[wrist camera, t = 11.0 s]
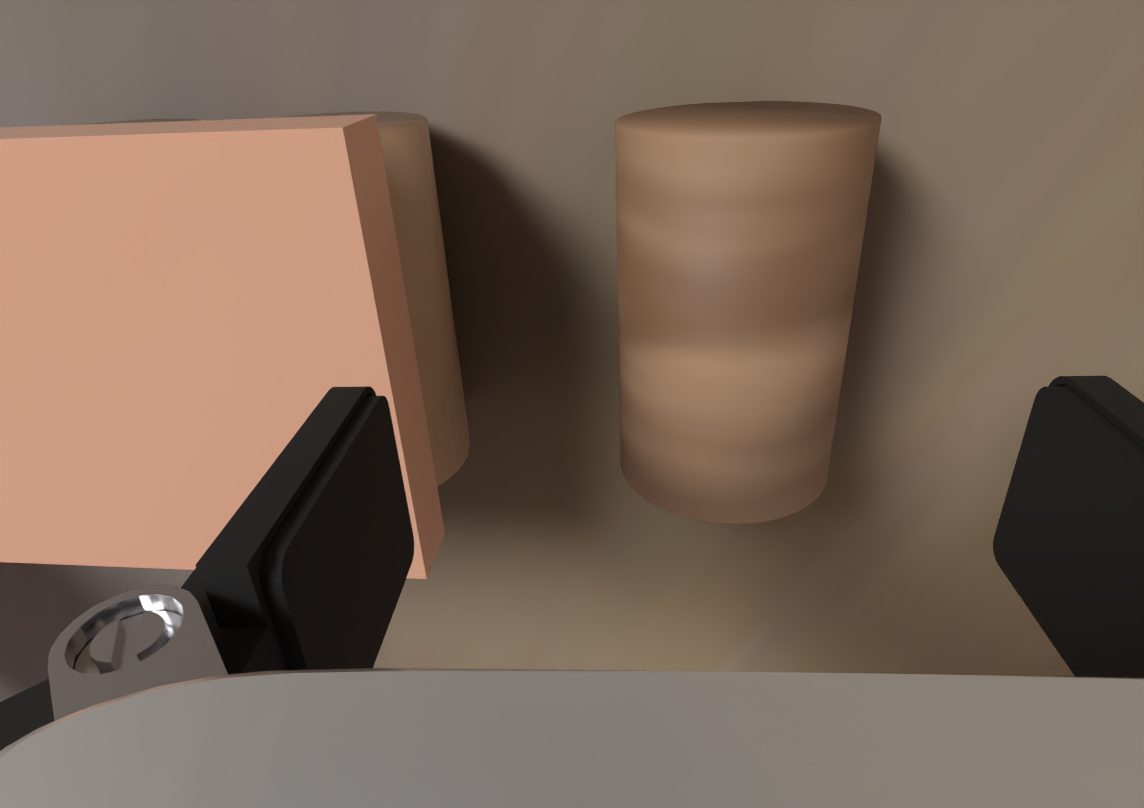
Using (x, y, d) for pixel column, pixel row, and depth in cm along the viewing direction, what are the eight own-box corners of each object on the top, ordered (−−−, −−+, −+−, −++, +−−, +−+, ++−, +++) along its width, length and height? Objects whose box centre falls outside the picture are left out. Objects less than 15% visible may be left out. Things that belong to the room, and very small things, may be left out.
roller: (624, 105, 17) (603, 142, 12) (852, 97, 16) (914, 134, 12) (627, 409, 20) (612, 518, 16) (810, 413, 20) (846, 529, 15)
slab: (168, 418, 22) (-2, 561, 16) (52, 101, 18) (-231, 146, 12) (489, 423, 21) (426, 579, 15) (450, 85, 17) (342, 127, 11)
